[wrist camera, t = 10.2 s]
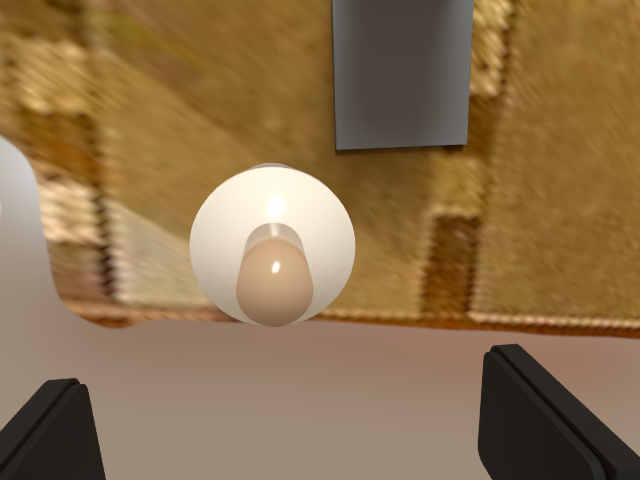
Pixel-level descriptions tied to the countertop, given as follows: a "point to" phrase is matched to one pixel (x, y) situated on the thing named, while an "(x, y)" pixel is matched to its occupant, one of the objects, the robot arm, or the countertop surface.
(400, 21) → the mat
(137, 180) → the countertop surface
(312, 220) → the lid
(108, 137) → the countertop surface
